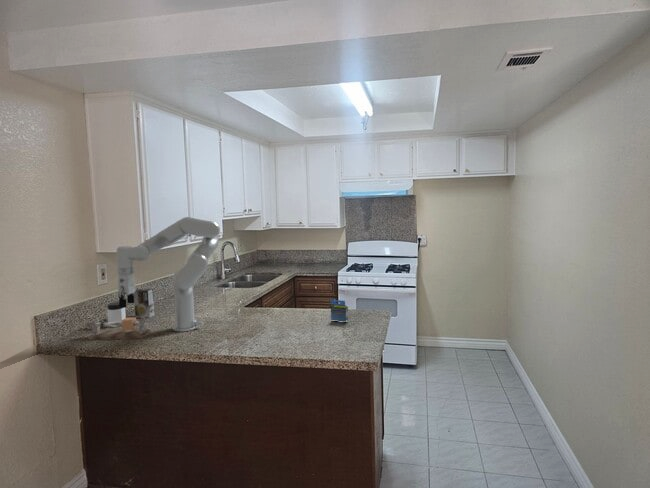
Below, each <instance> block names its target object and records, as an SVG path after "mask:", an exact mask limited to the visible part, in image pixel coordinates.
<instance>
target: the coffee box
mask: <svg viewBox="0 0 650 488" xmlns="http://www.w3.org/2000/svg"><path fill="white" fill-rule="evenodd" d="M154 297H155V296H154V288H138V289H136V290H135V292H134V303H133V304H134V314H135V317H136V319H141V318H145V319H149V318H152V317H154V316H155V313H156V311H155V300H154V299H155V298H154Z"/></svg>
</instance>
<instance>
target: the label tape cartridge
mask: <svg viewBox="0 0 650 488" xmlns="http://www.w3.org/2000/svg"><path fill="white" fill-rule="evenodd" d="M331 320H338V321H346V320H348V321H349V306H348V305H346V300H339V299H330V321H331Z"/></svg>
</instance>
